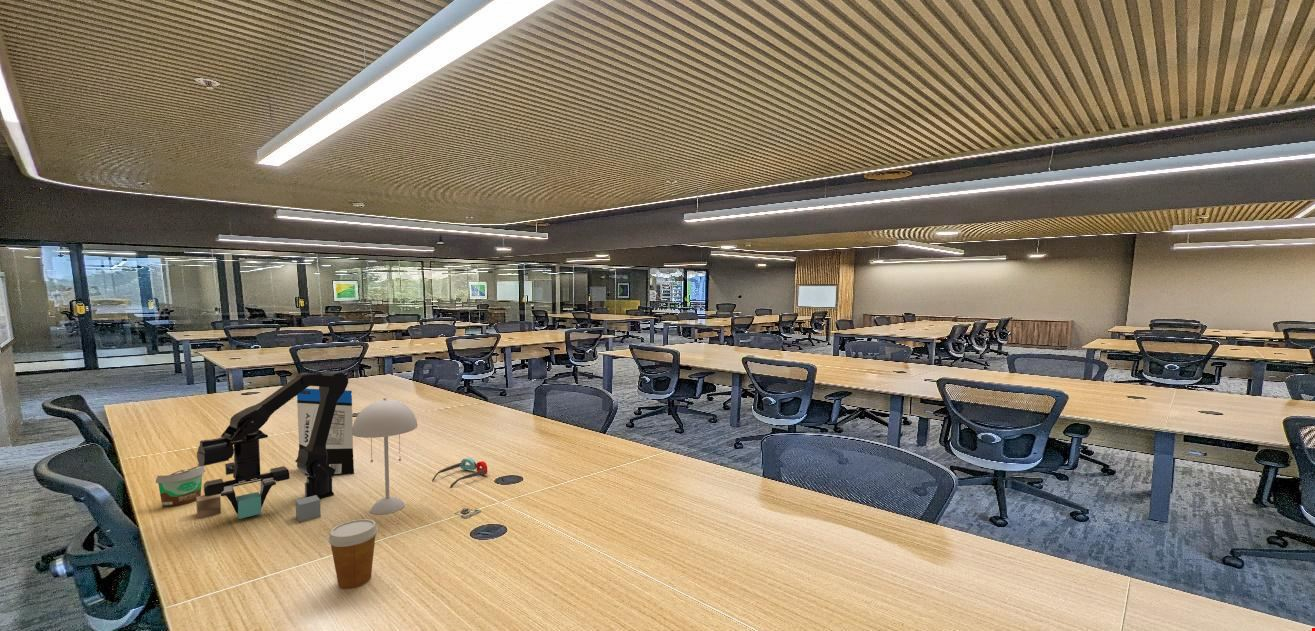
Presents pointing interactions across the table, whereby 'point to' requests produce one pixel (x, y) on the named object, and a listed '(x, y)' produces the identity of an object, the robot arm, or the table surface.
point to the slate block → (308, 508)
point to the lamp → (385, 438)
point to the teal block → (248, 505)
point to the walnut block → (208, 505)
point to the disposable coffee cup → (353, 551)
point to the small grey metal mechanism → (465, 510)
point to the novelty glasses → (467, 467)
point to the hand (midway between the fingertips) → (249, 509)
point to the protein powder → (339, 433)
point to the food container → (180, 486)
